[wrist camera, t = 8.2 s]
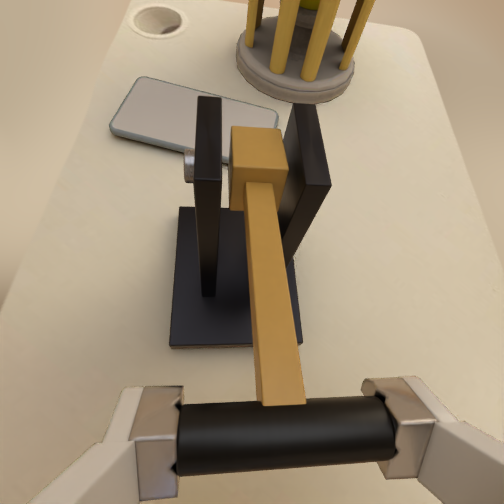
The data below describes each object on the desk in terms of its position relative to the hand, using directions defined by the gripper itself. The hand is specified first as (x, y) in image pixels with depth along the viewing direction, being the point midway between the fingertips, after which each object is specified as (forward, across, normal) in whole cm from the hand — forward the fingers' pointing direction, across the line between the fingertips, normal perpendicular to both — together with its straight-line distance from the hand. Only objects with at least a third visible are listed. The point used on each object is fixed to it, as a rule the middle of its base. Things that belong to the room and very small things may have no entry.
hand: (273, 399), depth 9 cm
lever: (+4, 0, -2) cm, 5 cm away
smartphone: (+27, +3, -8) cm, 28 cm away
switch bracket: (+16, 0, +3) cm, 16 cm away
